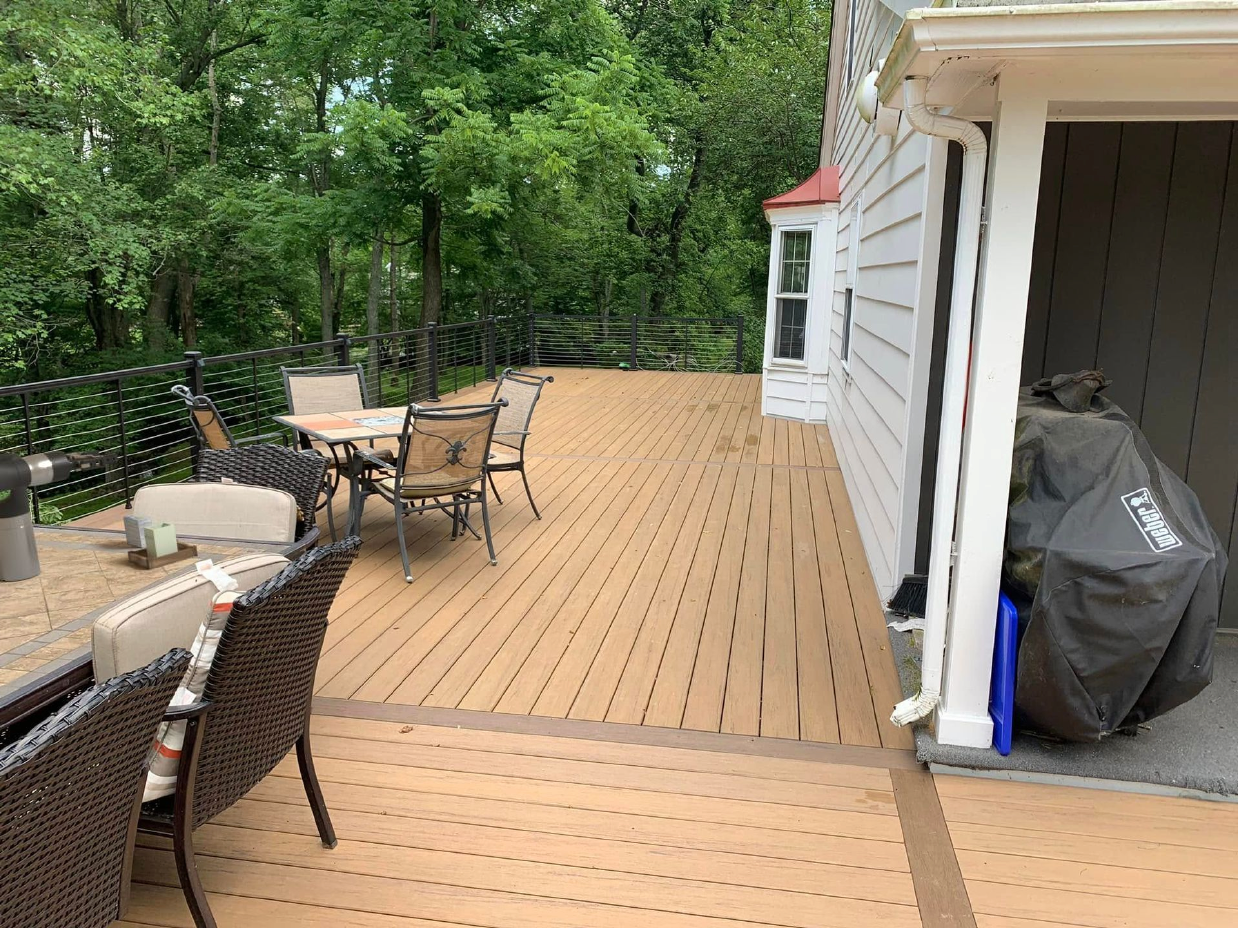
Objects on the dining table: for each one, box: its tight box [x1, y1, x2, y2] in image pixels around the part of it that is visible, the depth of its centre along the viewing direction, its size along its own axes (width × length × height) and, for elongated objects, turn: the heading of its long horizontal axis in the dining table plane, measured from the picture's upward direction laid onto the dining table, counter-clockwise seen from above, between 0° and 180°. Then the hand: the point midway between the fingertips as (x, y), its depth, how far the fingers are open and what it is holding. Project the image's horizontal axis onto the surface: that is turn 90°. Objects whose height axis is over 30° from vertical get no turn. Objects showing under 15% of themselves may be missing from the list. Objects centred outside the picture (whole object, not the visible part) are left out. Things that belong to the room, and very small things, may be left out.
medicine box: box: [123, 513, 154, 549], centre depth 264 cm, size 8×4×9 cm, turn 58°
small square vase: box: [143, 521, 178, 558], centre depth 251 cm, size 5×6×9 cm
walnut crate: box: [127, 538, 199, 570], centre depth 251 cm, size 12×14×3 cm
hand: (107, 455), depth 235 cm, fingers open, 8 cm apart
